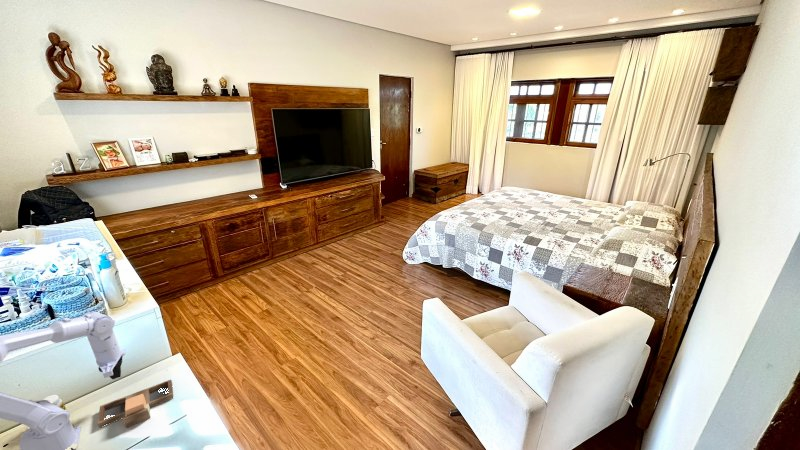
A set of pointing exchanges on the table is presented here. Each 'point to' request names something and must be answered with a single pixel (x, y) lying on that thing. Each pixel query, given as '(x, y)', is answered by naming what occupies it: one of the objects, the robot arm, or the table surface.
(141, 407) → the block
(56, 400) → the supplement bottle
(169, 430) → the table surface
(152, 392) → the board
